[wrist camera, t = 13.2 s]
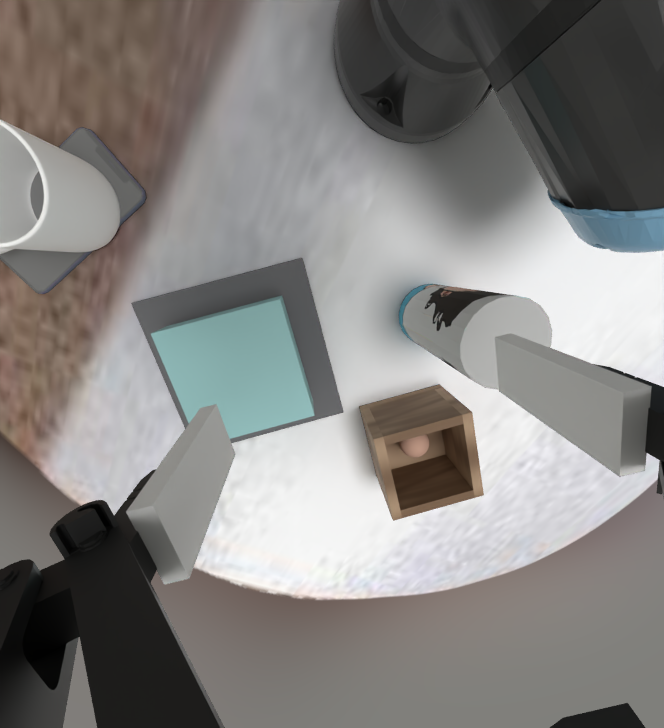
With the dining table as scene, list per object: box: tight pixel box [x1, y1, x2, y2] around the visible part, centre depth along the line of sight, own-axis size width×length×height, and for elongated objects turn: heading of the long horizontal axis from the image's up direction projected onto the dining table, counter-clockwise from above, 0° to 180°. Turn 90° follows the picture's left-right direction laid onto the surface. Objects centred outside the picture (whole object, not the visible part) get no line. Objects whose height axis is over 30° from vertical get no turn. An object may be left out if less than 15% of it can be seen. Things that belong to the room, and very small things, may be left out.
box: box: [359, 385, 484, 521], centre depth 38 cm, size 10×10×8 cm
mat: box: [131, 258, 343, 443], centre depth 37 cm, size 18×18×1 cm
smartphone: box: [0, 127, 146, 294], centre depth 32 cm, size 8×1×15 cm
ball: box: [399, 434, 429, 457], centre depth 39 cm, size 3×3×3 cm
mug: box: [0, 119, 120, 254], centre depth 27 cm, size 12×8×10 cm
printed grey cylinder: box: [399, 284, 552, 390], centre depth 31 cm, size 7×7×15 cm
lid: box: [151, 296, 315, 439], centre depth 35 cm, size 12×12×5 cm
